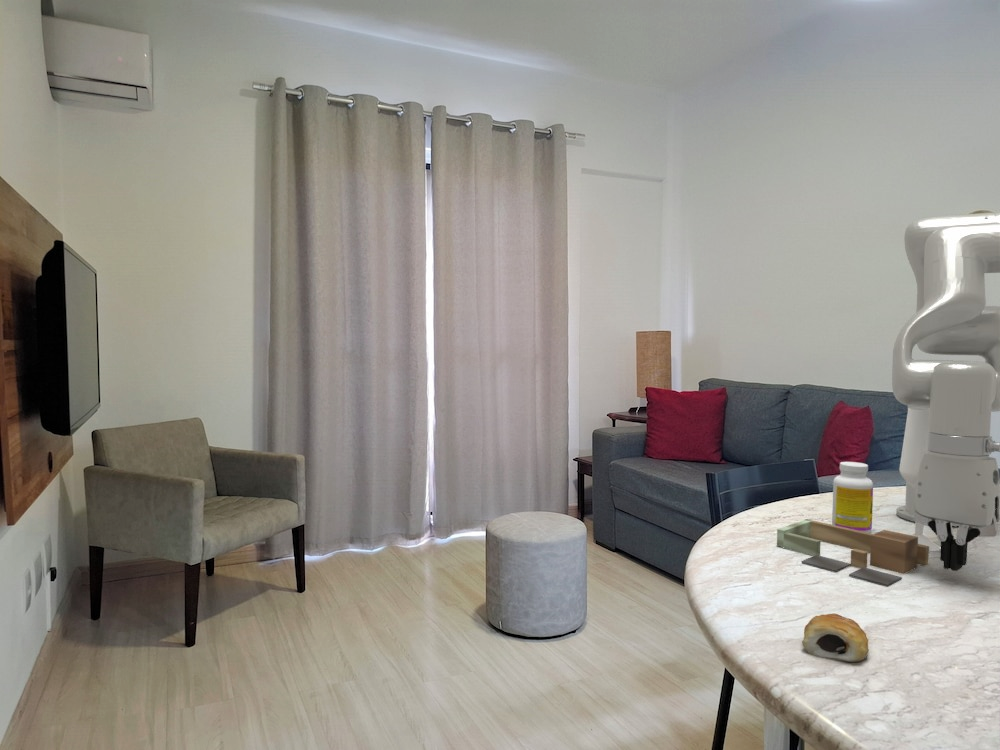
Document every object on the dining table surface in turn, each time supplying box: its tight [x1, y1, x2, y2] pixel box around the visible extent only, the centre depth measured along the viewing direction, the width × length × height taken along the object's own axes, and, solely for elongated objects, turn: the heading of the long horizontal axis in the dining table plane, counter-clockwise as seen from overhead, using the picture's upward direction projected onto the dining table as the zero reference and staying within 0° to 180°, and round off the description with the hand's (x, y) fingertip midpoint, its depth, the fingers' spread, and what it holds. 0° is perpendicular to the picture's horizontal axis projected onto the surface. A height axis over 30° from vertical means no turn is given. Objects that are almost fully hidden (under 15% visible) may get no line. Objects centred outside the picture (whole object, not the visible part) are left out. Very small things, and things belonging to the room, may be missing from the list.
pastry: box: [801, 613, 870, 663], centre depth 80 cm, size 9×7×4 cm
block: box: [869, 529, 918, 575], centre depth 107 cm, size 5×5×5 cm
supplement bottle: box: [831, 461, 874, 534], centre depth 126 cm, size 7×7×13 cm
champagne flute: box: [898, 407, 941, 552], centre depth 117 cm, size 7×7×24 cm
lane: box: [776, 519, 930, 587], centre depth 111 cm, size 15×20×3 cm
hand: (953, 567), depth 100 cm, fingers closed
